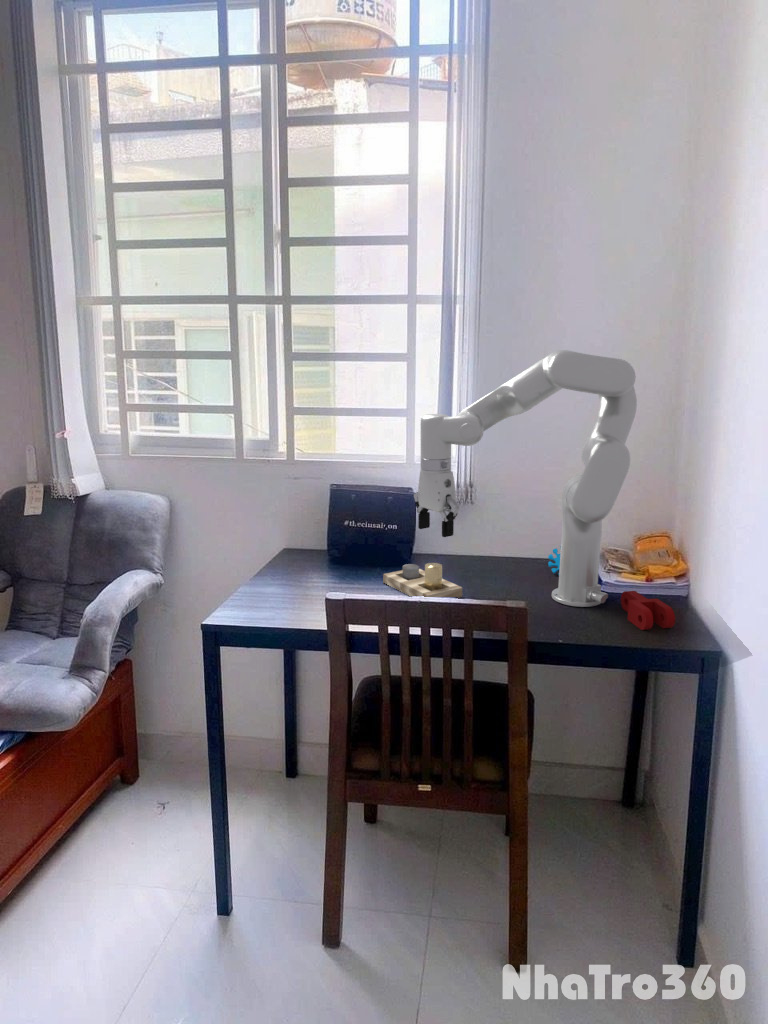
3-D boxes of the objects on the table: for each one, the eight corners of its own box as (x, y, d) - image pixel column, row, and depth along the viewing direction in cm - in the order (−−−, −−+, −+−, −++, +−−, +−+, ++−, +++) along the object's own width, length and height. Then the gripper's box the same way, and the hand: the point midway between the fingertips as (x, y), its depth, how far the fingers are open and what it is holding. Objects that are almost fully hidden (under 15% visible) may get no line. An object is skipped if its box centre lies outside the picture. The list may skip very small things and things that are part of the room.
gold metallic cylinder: (445, 596, 188) (445, 566, 186) (431, 599, 185) (431, 569, 184) (434, 591, 191) (435, 561, 190) (421, 594, 189) (421, 564, 187)
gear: (542, 569, 204) (554, 539, 208) (543, 579, 209) (555, 550, 213) (581, 580, 200) (593, 550, 204) (582, 590, 204) (593, 560, 208)
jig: (462, 596, 187) (462, 578, 186) (427, 605, 181) (427, 585, 180) (416, 575, 204) (416, 558, 202) (383, 582, 198) (383, 565, 197)
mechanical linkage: (674, 631, 166) (676, 610, 165) (644, 633, 165) (646, 612, 164) (637, 606, 182) (639, 587, 180) (611, 608, 180) (612, 589, 179)
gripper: (470, 468, 176) (469, 537, 179) (427, 458, 190) (427, 523, 194) (445, 471, 172) (445, 542, 176) (403, 461, 186) (403, 527, 190)
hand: (435, 532), depth 185 cm, fingers open, 9 cm apart
